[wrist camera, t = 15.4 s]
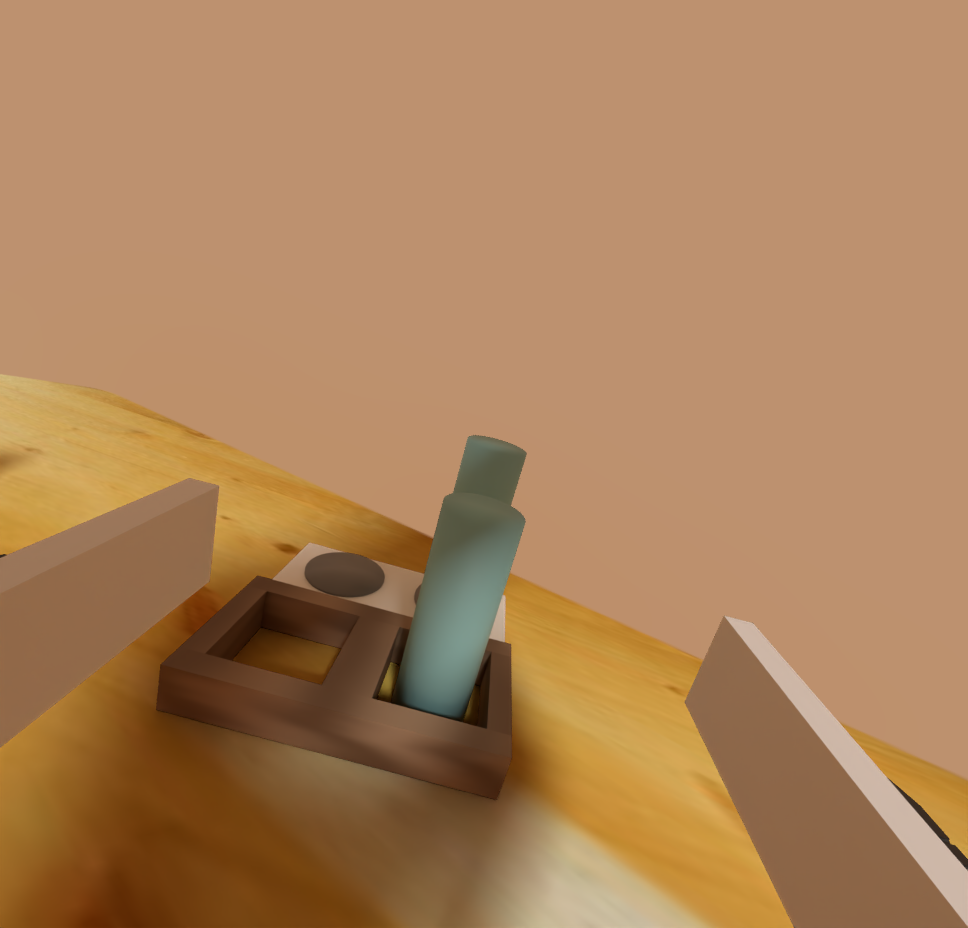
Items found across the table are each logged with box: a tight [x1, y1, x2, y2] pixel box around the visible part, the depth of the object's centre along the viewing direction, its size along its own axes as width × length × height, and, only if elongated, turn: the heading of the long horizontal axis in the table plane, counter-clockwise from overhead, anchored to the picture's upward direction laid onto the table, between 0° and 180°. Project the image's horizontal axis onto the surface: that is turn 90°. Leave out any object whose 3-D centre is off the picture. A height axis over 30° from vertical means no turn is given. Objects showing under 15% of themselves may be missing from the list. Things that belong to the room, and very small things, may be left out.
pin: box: [453, 435, 526, 506], centre depth 32 cm, size 4×4×12 cm
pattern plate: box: [273, 543, 505, 642], centre depth 32 cm, size 16×8×1 cm, turn 85°
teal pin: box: [391, 493, 525, 723], centre depth 23 cm, size 4×4×12 cm
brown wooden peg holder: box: [156, 576, 512, 800], centre depth 24 cm, size 16×8×2 cm, turn 85°
